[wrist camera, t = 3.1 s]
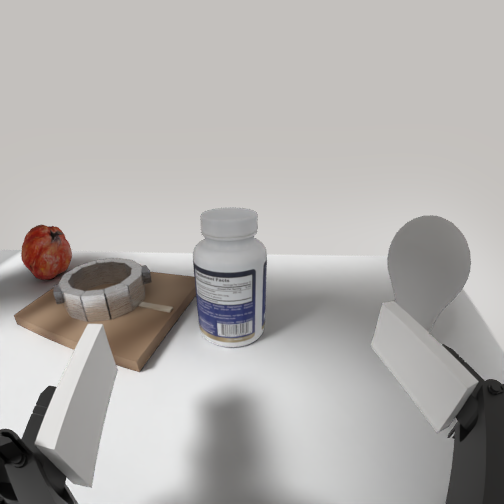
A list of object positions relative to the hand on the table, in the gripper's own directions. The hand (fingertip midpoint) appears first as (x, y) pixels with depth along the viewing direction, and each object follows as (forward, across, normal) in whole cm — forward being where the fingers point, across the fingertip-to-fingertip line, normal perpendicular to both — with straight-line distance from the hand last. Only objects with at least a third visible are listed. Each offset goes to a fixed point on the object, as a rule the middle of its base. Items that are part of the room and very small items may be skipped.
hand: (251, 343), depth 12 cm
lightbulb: (+3, +12, -6) cm, 14 cm away
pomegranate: (+22, -24, -6) cm, 33 cm away
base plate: (+14, -12, -6) cm, 20 cm away
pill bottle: (+10, 0, -6) cm, 11 cm away
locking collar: (+14, -12, -6) cm, 20 cm away
